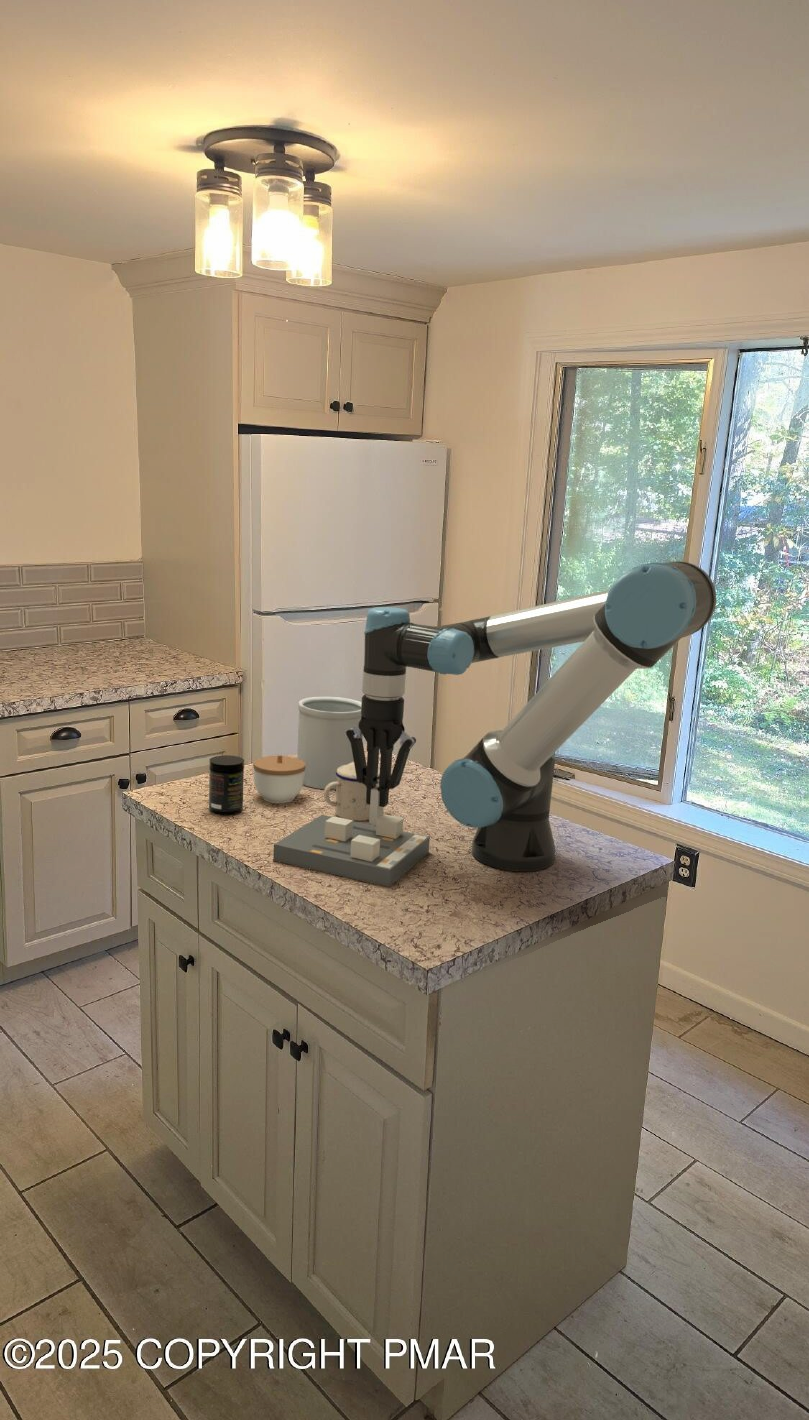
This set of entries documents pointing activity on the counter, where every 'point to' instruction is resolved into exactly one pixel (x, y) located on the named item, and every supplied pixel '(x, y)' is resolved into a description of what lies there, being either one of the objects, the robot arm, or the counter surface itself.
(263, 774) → the lidded jar
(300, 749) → the utensil holder
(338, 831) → the middle switch
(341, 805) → the teacup with lid
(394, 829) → the back switch
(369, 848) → the front switch
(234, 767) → the supplement container
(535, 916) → the counter surface
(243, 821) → the counter surface
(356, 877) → the switch panel
